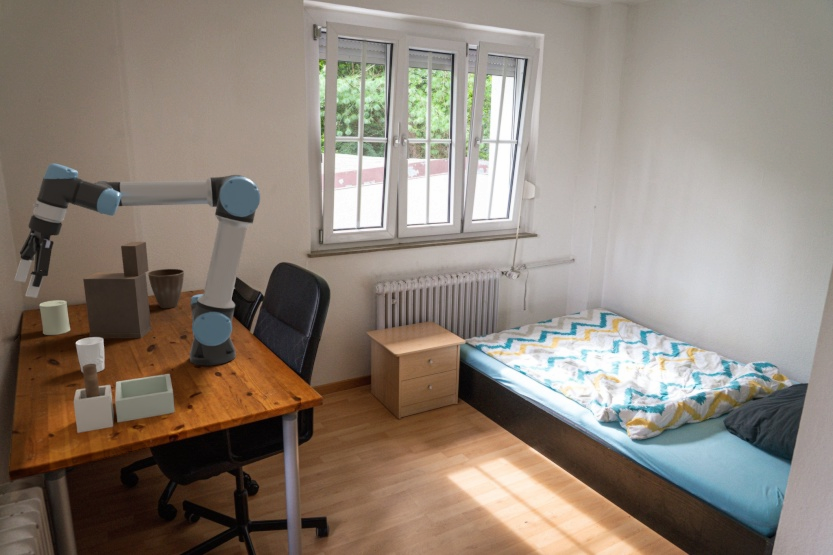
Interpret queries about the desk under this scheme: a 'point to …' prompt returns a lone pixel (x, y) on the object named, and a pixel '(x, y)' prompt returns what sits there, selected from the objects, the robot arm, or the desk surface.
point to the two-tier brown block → (120, 297)
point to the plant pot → (167, 286)
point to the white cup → (91, 352)
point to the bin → (144, 397)
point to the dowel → (91, 380)
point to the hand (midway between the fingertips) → (25, 288)
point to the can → (54, 317)
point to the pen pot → (94, 410)
